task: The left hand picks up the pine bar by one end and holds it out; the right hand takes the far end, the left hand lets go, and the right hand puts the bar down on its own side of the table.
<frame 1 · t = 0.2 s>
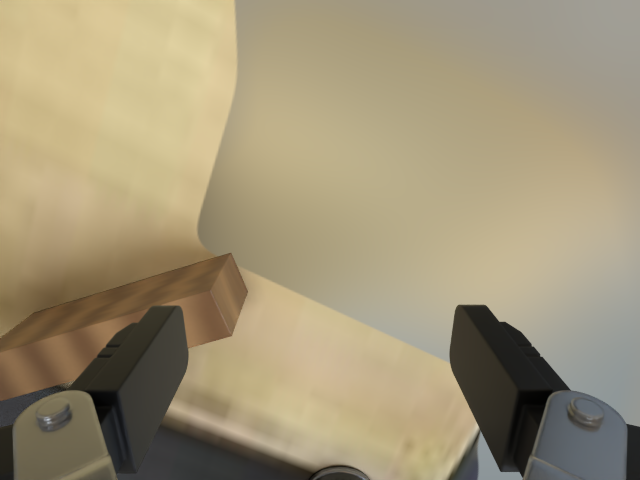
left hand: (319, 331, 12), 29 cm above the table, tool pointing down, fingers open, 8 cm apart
bar: (139, 302, 44), on the table
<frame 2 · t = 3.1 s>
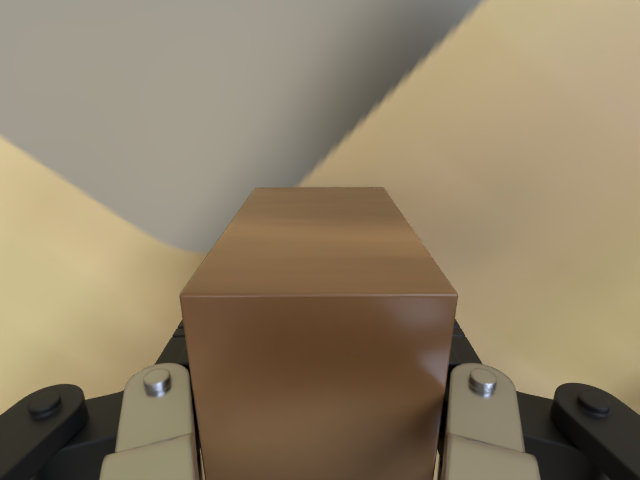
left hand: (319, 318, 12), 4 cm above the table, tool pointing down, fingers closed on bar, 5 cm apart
bar: (319, 432, 19), on the table, touching left hand
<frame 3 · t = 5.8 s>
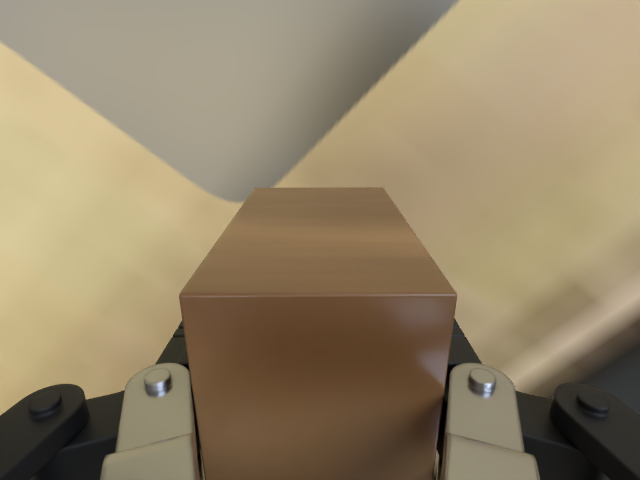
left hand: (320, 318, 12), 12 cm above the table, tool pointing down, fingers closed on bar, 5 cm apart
bar: (319, 432, 19), point 8 cm above the table, touching left hand
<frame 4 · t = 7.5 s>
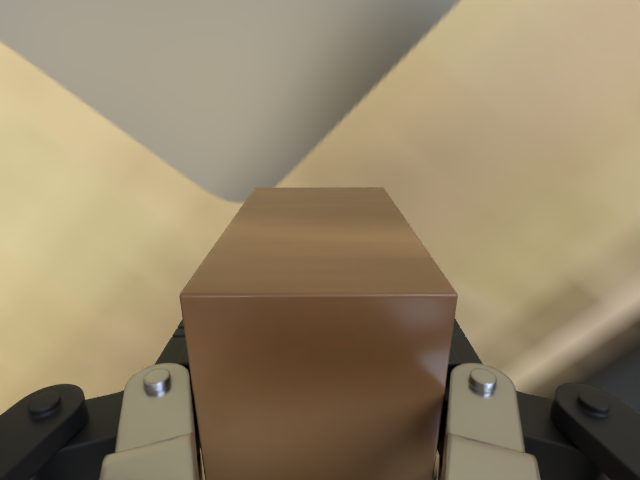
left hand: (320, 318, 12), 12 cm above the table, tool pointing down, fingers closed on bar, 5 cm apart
bar: (319, 432, 19), point 8 cm above the table, touching left hand, right hand
when the left hand's fingers open (12 cm above the table, at t = 8.6 s): bar stays where it is, held by the right hand.
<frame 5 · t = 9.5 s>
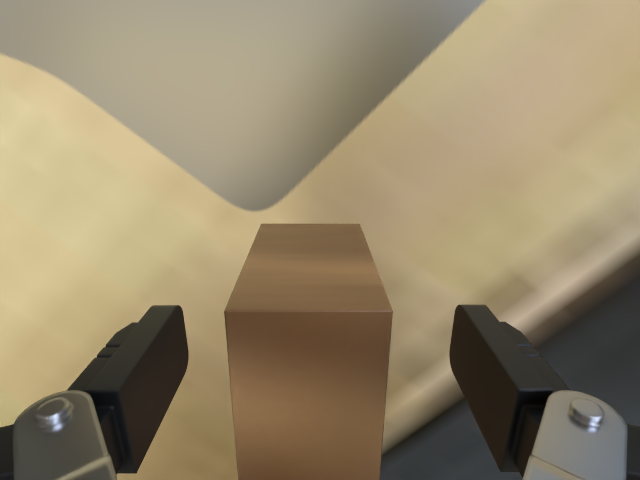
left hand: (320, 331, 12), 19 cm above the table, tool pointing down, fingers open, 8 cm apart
bar: (310, 416, 23), point 11 cm above the table, touching right hand
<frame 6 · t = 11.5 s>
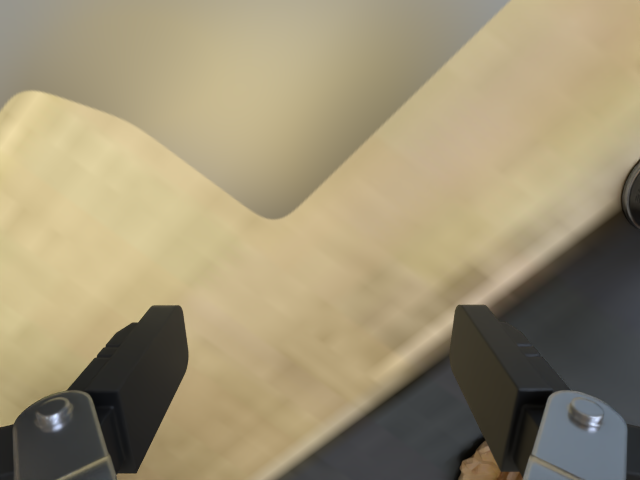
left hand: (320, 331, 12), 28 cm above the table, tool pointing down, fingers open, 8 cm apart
sculpture: (554, 478, 53), on the table
when the right hand's fingers open (5 cm above the table, at t = 13.2 s): bar stays where it is, on the table.
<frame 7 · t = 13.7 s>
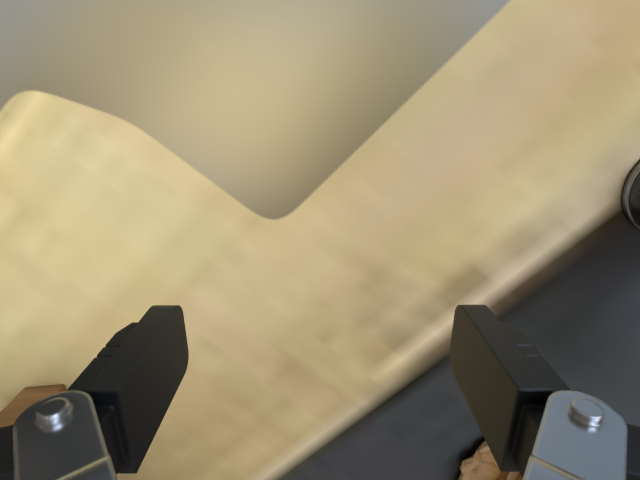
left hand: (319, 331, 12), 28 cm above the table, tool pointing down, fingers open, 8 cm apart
bar: (75, 459, 51), on the table
sculpture: (554, 478, 53), on the table
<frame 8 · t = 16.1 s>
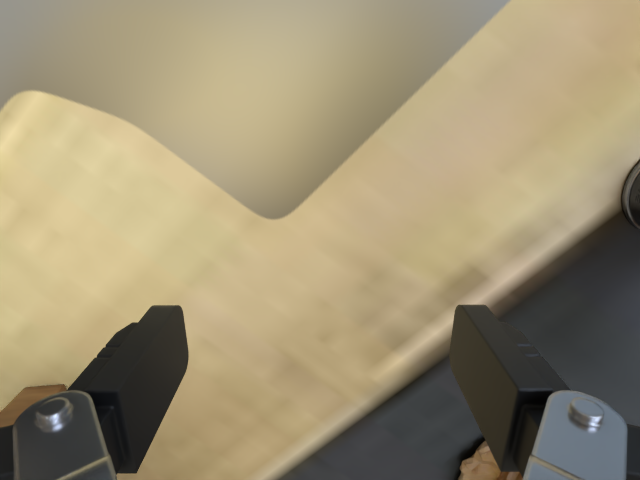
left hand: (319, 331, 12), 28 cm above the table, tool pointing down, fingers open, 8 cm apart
bar: (75, 459, 51), on the table
sculpture: (554, 478, 53), on the table
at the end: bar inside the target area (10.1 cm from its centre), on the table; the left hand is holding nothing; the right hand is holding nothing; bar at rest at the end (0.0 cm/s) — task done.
